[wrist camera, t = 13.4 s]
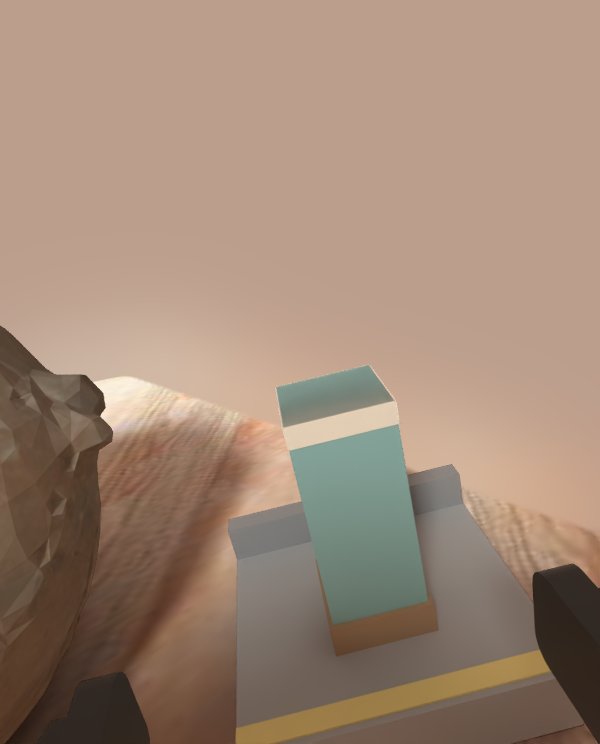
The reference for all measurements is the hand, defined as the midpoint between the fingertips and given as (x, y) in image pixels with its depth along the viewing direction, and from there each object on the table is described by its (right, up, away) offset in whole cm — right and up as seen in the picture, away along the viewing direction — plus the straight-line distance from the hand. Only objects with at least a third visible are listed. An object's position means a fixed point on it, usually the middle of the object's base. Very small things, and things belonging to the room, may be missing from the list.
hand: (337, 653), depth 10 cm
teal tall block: (+3, -6, +16) cm, 18 cm away
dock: (+4, -9, +17) cm, 20 cm away
